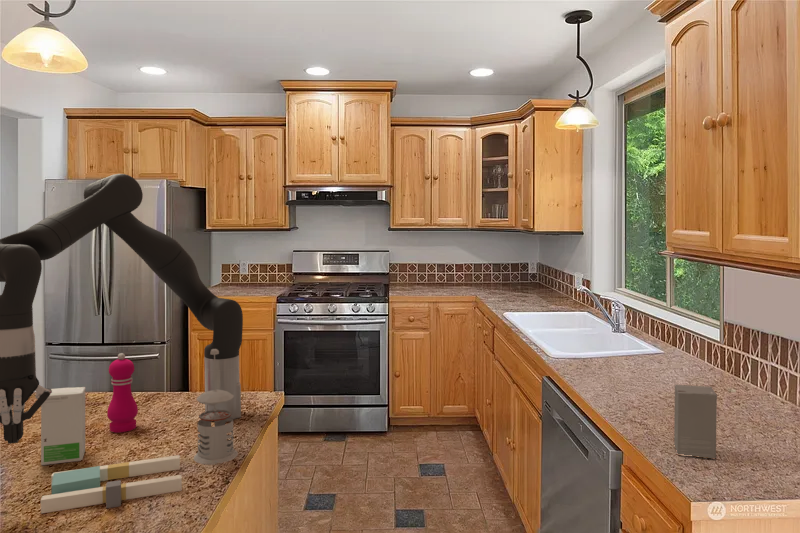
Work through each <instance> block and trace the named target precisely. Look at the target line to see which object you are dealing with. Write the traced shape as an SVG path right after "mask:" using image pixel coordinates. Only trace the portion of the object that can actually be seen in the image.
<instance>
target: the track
mask: <svg viewBox="0 0 800 533" xmlns="http://www.w3.org/2000/svg"><path fill="white" fill-rule="evenodd" d="M99 466H100V482H105V481H107V482H106V484H105V486H100V487H98V488H91V489H85V490H78V491H72V492H65V493H59V494H52V493H51V494H48V495H47V494H46V495H42V496H41V498H40V514H46V513H53V512H57V511H66V510H71V509H77V508H83V507H89V506H96V505H101V504H105V506H106V507H105V508H106V509H110V508H111V509H113V508H118V507H121V505H122V501H126V500H132V499H133V500H134V499H138V498H143V497H149V496H157V495H163V494H169V493H174V492H175V493H176V492H180V491H182V488H183V487H182V485H183V484H182V483H183V482H182V474H177V475H170V476H164V477H159V478H158V477H157V478H151V479H145V480H139V481H130V482H124V483H122V480H120V479H123V478H131V477H137V476H138V477H139V476H145V475H152V474H157V473H158V474H159V473H163V472H164V473H165V472H170V471H176V470H177V471H178V470H181V456H180V454H178V455H170V456H163V457H157V458H148V459H141V460H136V461H128V462H119V463H114V464H113V463H112V464H107V465H106V464H105V465H99ZM78 469H79V468H78ZM78 469H75V470H78ZM82 469H84V468H82ZM72 470H73V469H70V470H68V471H72ZM66 471H67V470H63V471H55V472H52V474H51V477H50V479H51V480H50V481H51V483H52V480H53V475H54V473H60V472H66ZM111 480H114V481H111Z"/></svg>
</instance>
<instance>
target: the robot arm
mask: <svg viewBox="0 0 800 533" xmlns="http://www.w3.org/2000/svg"><path fill="white" fill-rule="evenodd" d="M143 194H144V193H143V189H142V187H141V185H140V183H139V182H138V181H137V180H136V179H135V178H134V177H133V176H131V175H128V174H126V173H116V174H111V175H109V176H107V177H104V178H101V179H98V180H96V181H93V182H91V183H90V184H88V185H87V186H86V187H85V189H84V190H83V200H81V201H79V202H77V203H74V204H73V205H72V204H71V205H70V206H67V207H65V208H63V209H61V210H59V211H57V212H55V213H52V214H51V215H48V216H47V217H44V218H43V219H41V220H40V221H38V222H37V223H34V224H33V225H31V226H30V227H29V228H27V229H25V230H23V231H22V230H21V231H19V232H16V233H13V234H10V235H6V236H4V237H2V238H0V282H1V283H5V284H4V288H3V290H2V293H1V294H0V424H2V426H3V439H4V441H5V442H7V444H8V445H11V444H18V443H19V442H20V440H21V439H22V438H23V436H24V421H27V420H30V419H32V417H33V416H34V415H35V414H36V413H37V412H38V410H39V409H41V405H42V404H43V403H44V402H45V401H46V399H47V398H48V397H49V396H50V394H51V393H52V390H51V389H52V388H45V387H44V386H41V384H40V381H39V379H38V377H37V373H36V372H37V369H36V368H37V367H36V366H37V365H36V363H37V362H36V336H35V332H34V331H35V330H34V318H33V317H34V316H33V314H34V313H33V312H34V310H33V309H34V308H33V303H34V300H35V298H36V294H37V290H38V286H39V284H40V283H39V282H40V280H41V279H40V278H41V274H42V269H43V265H42V261H47V260H50V259H52V258H55V257H56V256H58V254H60V253H62V252H64V251H65V250H67V249H68V248H70V246H72V245H73V244H75V243H76V242H78V241H79V240H82V238H84V237H85V236H86V235H88V234H90V233H91V232H93V231H94V230H96V229H97V228H98V227H100V226H101V225H105V226H106V227H107V228H109V229H110V230H111V231H112V232H113V233H114V234H115V235H116V236H117V237H119V238H120V239H121V240H122V241H123V242H124V243H125V244H126V245H128V246H129V248H130V249H132V250H133V251H134V252H135V254H137V255H138V257H139V258H141V259H142V260H143V261H144V263H145V264H146V265H147V266H148V267H149V268H150V269H151V270H152V272H153V273H155V275H156V276H157V277H158V278H159V279H160V280H161V281H162V282H163V283H164V284H166V285H167V287H168V288H169V289H171V291H173V293H174V294H175V295H176V296H177V297H179V298H180V299H181V301H182V302H184V304H185V305H186V307H187V308H188V309H189V310H190V312H191V313H192V314H193V316H194V318H196V320H197V321H198V322H199V324H200V325H201V326H202V327H204V328H205V329H206V330H209V331H212V341H211V343H209V344H207V345H206V346H205V347H204V349H203V350H204V352H203V354H204V358H203V359H204V360H203V361H204V393H205V392H207V391H212V390H214V355H211V354H210V352H211V350H212V349H217V350H218V351H219V354H216V355H215V386H216V390H223V391H227V392H229V393H231V394H232V395H234V396H233V399H232V400H231V401H228V402H226V403H221V404H216V410H218V409H219V410H228V411H230V412H231V416H230V417H232V418H233V420H235V419H238V418H239V419H240V418H242V404H241V403H242V398H241V397H242V389H241V388H242V387H241V386H242V385H241V382H240V348H241V347H242V343H243V326H244V324H243V323H244V317H243V309H242V306H241V305H240V304H239V303H238V301H237V300H234V299H231V298H230V299H229V298H223V297H222V298H221V297H218V296H217V295H215V294H214V293H213V292H212V291H211V290H209V288H208V287H207V286H206V285H205V284H204V282H203V281H202V280H201V277H200V275H199V272H198V269H197V266H196V264H195V261H194V260H193V258H192V257H191V256H190V254H189V253H188V252H187V251H186V250H185V248H183V246H182V245H181V244H180V243H179V242H178V241H177V240H176V239H174V238H173V237H171V236H170V235H168V234H165V233H163V232H162V231H160V230H158V229H155V228H153V227H151V226H149V225H147V224H145V223H144V222H142V220H141V221H140V220H139V219H138V218H137V217H136V216H135V215H134V214H133V213H132V212H133V211H136V209H138V208H139V207H140V206H141V203H142V202H143V196H144V195H143ZM35 392H36V394H35V396H34V397H35V399H36V400H35V401H34V403H33V404H32V405H31V406H30V408H29V409H28V410H25V406H26V402H28V401H29V399H30V398H31V396H32V395H33V394H34V393H35ZM211 410H214V405H209V404H208V411H211ZM204 412H207V404H204Z"/></svg>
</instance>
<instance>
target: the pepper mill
mask: <svg viewBox="0 0 800 533" xmlns="http://www.w3.org/2000/svg"><path fill="white" fill-rule="evenodd" d="M108 366H109V367H108V374H109V375H110V376H111V377H112V378H111V379H110V381H111V385H112V387H113V388H112V389H113V390H112V391H113V392H112V398H111V400H110V402H109V404H108V408H107V413H106V414H107V418H108V420H110V423H109V431H110V432H112V433H116V434H117V433H127V432H130V431H132V430H134V429H136V428H137V420H136V419H135V418H136V417H137V415H138V414H139V408H138V403H137V402H136V400H135V398H134V396H133V393H132V383H133V374H134V372H135V365H134V362H133V361H132V360H130V359H128V358H126V355H125V353H123V352H121V353H120V352H119V353H118V354H117V359H115V360H113V361H112V362H111V363H110V364H109V365H108Z"/></svg>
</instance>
